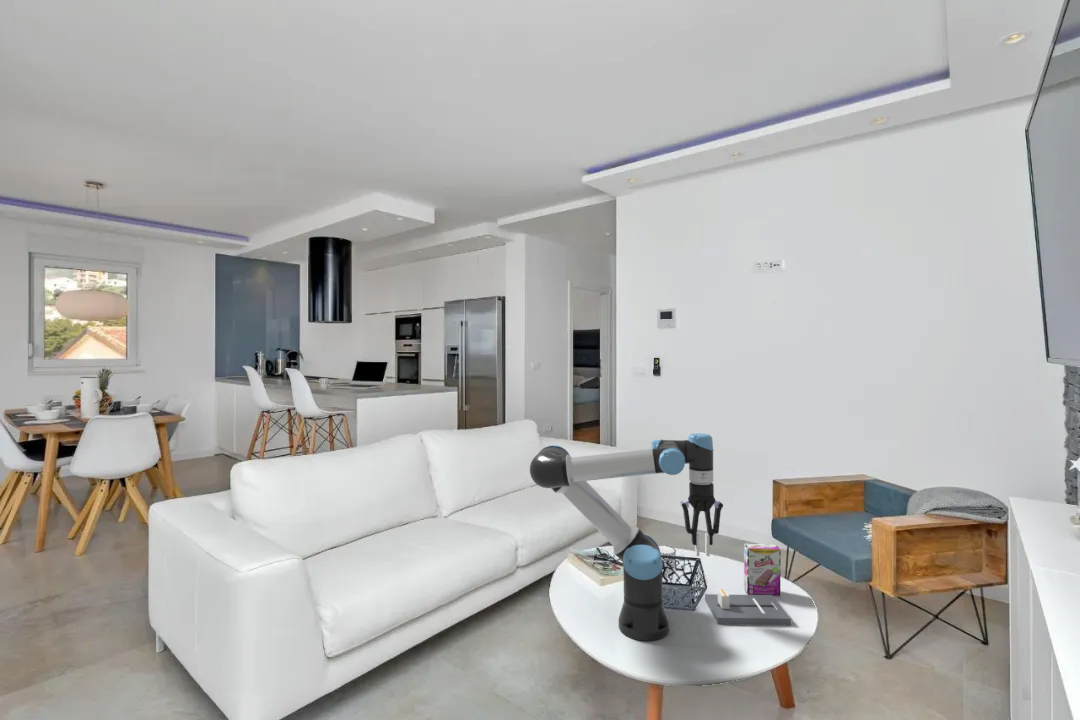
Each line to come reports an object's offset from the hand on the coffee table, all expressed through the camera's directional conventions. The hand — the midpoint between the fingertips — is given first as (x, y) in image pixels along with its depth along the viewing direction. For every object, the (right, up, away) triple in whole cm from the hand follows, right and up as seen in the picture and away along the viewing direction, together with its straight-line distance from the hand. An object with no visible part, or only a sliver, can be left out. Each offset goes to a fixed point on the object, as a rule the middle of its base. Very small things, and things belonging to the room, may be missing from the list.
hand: (702, 554), depth 171 cm
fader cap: (+7, -16, 0) cm, 18 cm away
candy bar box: (+25, -18, +13) cm, 33 cm away
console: (+14, -18, -1) cm, 23 cm away
